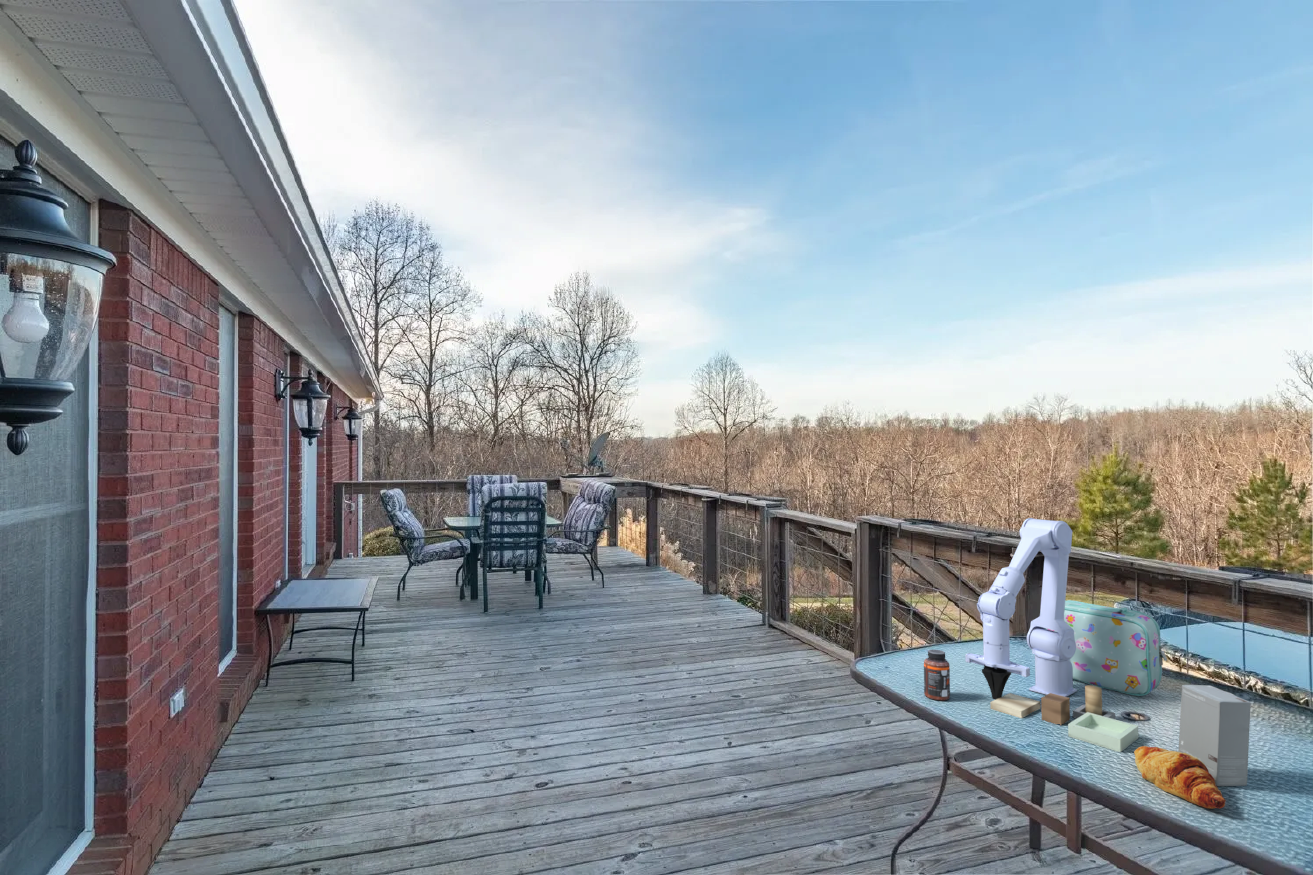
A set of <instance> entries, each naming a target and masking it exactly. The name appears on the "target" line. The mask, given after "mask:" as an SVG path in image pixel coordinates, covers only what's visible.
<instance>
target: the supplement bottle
mask: <svg viewBox="0 0 1313 875" xmlns="http://www.w3.org/2000/svg"><path fill="white" fill-rule="evenodd" d="M927 656H928V657H927V658H925V659H923V660H924V661H923V692H924V693H923V694H924V696H925V697H927V698H928V699H931V700H935V701H942V702H943V701H947V700H949V699H950V697H951V688H950V687H951V680H950V679H951V678H950V674H951V673H950V671H951V670H950V668H951V667H950V662H949V661H948V660H947V659H946V652H945V651H944V650H940V649H929V650H927Z"/></svg>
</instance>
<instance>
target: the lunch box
mask: <svg viewBox="0 0 1313 875" xmlns="http://www.w3.org/2000/svg"><path fill="white" fill-rule="evenodd" d="M1064 621H1065V622H1066V623H1067V624H1068V625H1069V626H1070V627H1071V628H1072V629H1073V630H1074V638H1075V642H1076V651H1075V654H1074V655H1073V657H1072V658H1071V659H1070V661H1071V663H1072V667H1073V680H1076V681H1079V682H1082V683H1085V684H1088V685H1091V686H1097V687H1100V688H1101V689H1106V690H1111V691H1115V692H1118V693H1121V694H1126V695H1130V696H1138V697H1139V696H1140V697H1142V696H1143V697H1144V696H1147V695H1149V694H1151V692H1152V691H1153V690H1156V689H1157V688H1158V686H1159V685H1160V682H1161V680H1162V674H1163V665H1164V662H1166V661H1168V658H1167V655H1166V654H1165V650H1163V646H1162V645H1161V629H1160V626H1159V624H1158V622H1157V621H1156V619H1154V618H1153V617H1152V616H1150V615H1148V614H1147V613H1145V612H1142V611H1138V610H1133V609H1129V608H1127V607H1126V606H1125V607H1122V608H1120V607H1111V606H1104V605H1100V604H1094V603H1087V602H1082V601H1079V600H1078V601H1077V600H1073V599H1072V600H1065V612H1064ZM1045 629H1047V628H1045ZM1047 630H1051V629H1047ZM1051 631H1055V630H1051ZM1055 632H1057V631H1055ZM1163 661H1164V662H1163Z"/></svg>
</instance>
